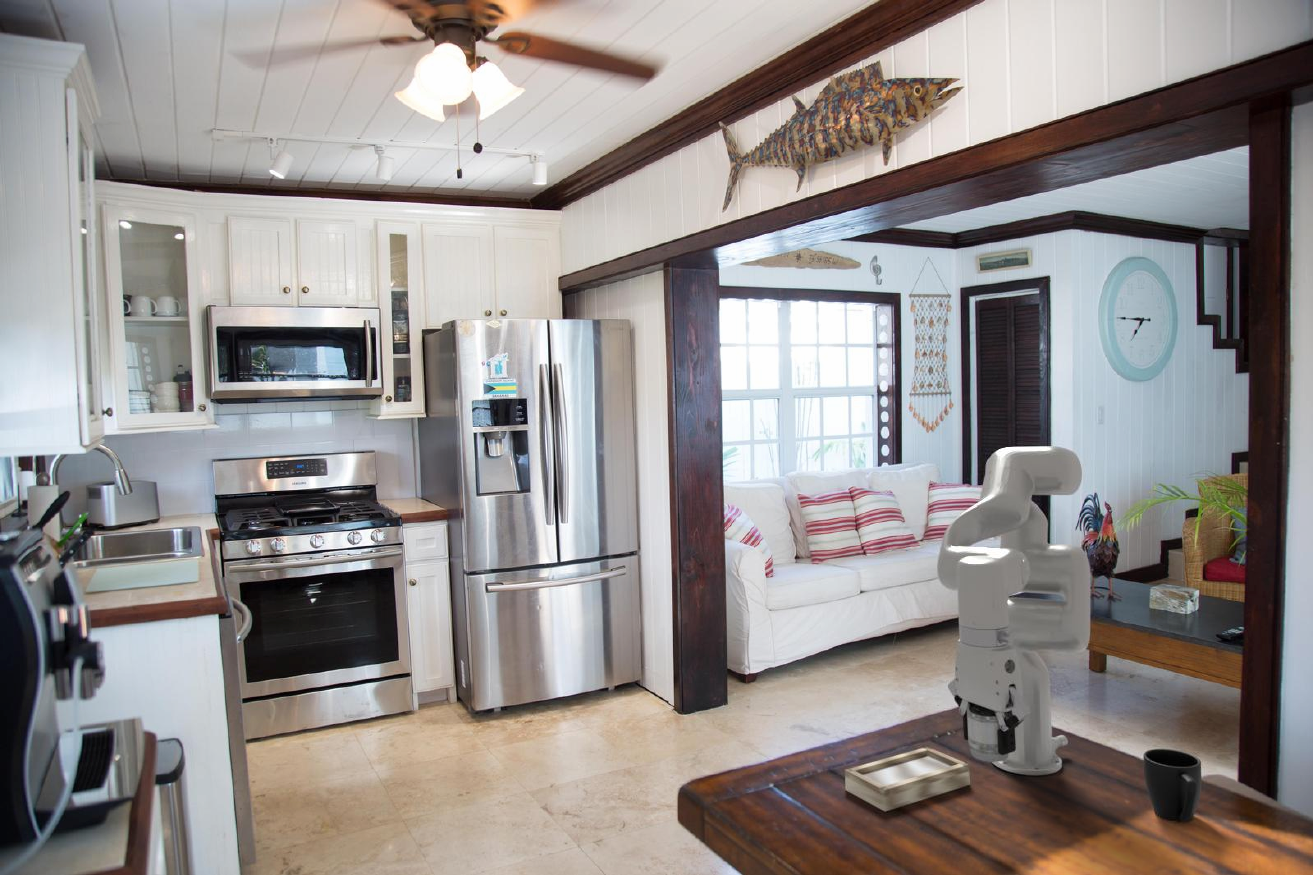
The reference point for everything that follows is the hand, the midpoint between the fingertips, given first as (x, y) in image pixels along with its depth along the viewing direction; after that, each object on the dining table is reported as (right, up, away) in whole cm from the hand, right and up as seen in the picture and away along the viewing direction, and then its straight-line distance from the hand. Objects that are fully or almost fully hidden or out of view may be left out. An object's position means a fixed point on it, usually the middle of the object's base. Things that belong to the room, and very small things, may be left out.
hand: (989, 744), depth 142 cm
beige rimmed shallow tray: (-8, -15, +19) cm, 25 cm away
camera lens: (0, -2, 0) cm, 2 cm away
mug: (+31, -13, +2) cm, 34 cm away
